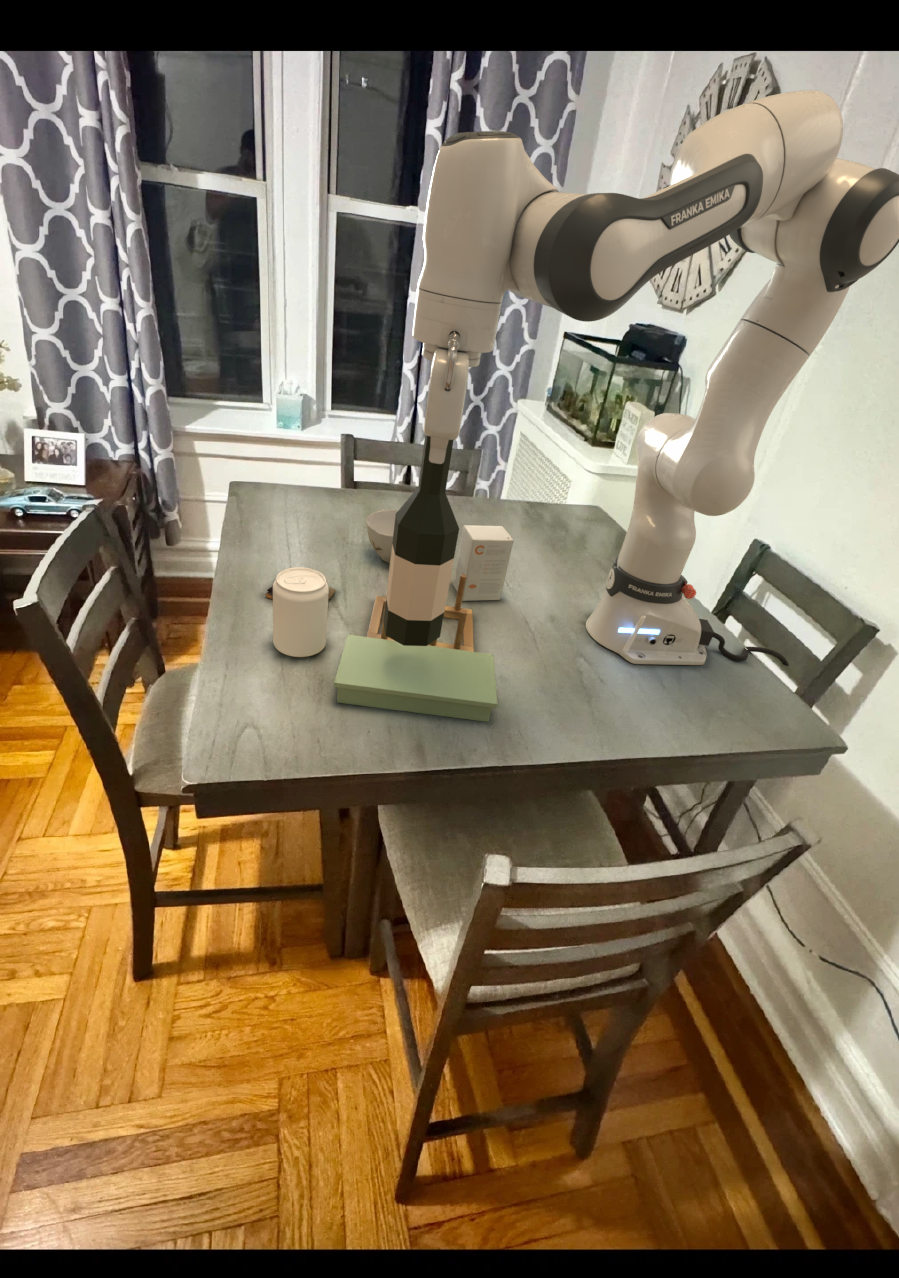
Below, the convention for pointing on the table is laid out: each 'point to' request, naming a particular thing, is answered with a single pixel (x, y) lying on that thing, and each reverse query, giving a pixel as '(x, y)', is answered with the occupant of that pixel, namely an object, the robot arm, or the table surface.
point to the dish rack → (456, 612)
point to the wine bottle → (421, 557)
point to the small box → (483, 561)
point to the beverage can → (300, 612)
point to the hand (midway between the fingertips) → (436, 455)
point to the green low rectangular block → (416, 678)
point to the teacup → (381, 532)
